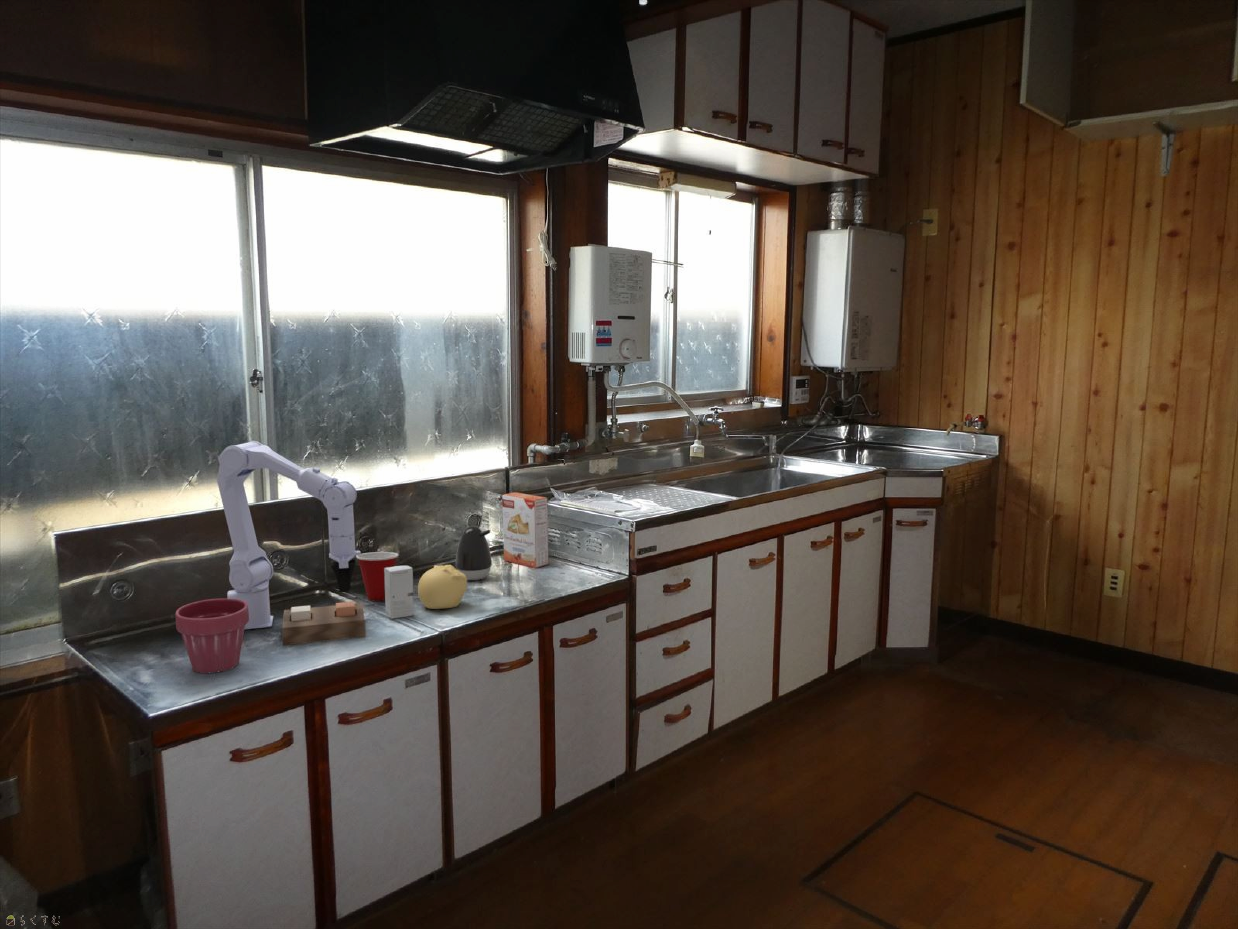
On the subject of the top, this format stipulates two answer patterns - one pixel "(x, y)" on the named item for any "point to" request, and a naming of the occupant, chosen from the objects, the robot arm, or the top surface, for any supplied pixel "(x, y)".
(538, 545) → the cracker box
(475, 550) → the pump dispenser
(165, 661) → the top surface
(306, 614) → the cream key
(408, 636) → the top surface
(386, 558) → the plastic cup
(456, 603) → the sculpture
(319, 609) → the walnut panel
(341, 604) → the terracotta key
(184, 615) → the plant pot
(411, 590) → the skincare box
